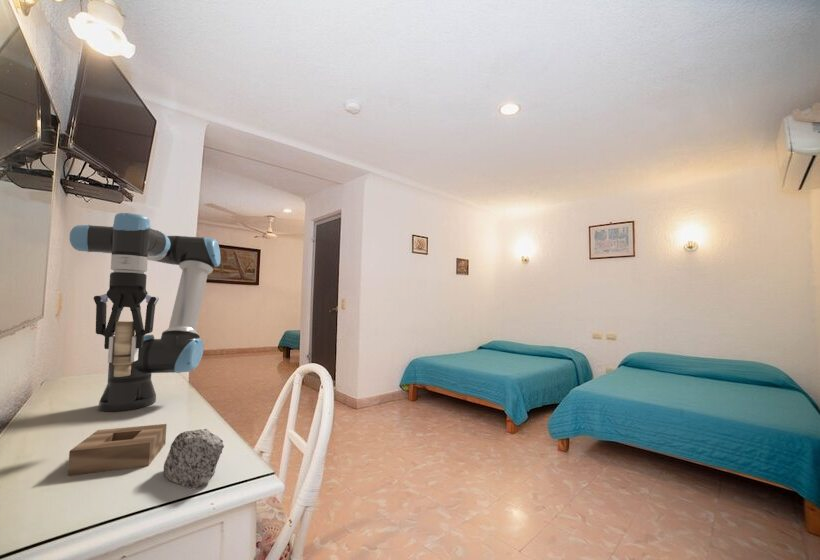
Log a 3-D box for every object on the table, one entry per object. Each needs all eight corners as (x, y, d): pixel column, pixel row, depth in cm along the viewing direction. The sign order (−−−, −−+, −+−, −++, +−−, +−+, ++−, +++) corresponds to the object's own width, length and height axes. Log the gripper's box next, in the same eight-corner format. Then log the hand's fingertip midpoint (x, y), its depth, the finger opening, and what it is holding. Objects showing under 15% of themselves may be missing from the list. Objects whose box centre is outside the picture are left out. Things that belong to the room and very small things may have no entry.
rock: (228, 483, 69) (229, 430, 71) (180, 498, 63) (182, 440, 65) (203, 469, 80) (204, 424, 82) (159, 482, 74) (162, 432, 76)
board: (96, 451, 82) (97, 430, 83) (165, 443, 87) (166, 423, 88) (67, 475, 71) (69, 451, 72) (148, 465, 76) (150, 442, 77)
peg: (115, 374, 91) (119, 321, 92) (134, 373, 92) (138, 320, 93) (108, 377, 87) (112, 322, 88) (128, 376, 89) (132, 322, 89)
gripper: (80, 269, 85) (73, 365, 83) (162, 273, 91) (157, 362, 90) (95, 271, 92) (89, 360, 90) (171, 274, 98) (166, 357, 97)
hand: (123, 361), depth 90 cm, fingers closed on peg, 4 cm apart
